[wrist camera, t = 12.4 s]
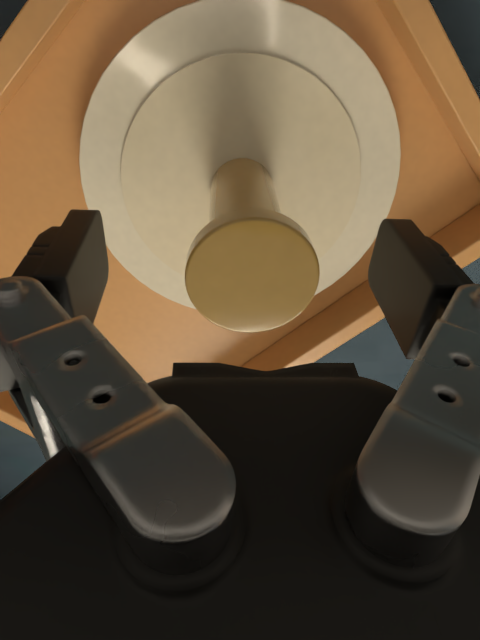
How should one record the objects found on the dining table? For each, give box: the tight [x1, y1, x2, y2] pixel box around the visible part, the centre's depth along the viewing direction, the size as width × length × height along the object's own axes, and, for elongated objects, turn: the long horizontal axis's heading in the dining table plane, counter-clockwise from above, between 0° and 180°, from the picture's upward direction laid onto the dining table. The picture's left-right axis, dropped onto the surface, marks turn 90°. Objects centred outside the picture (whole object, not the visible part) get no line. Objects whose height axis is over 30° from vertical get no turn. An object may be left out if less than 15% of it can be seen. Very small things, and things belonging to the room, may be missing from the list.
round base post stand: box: [79, 0, 401, 333], centre depth 15 cm, size 12×12×7 cm
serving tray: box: [0, 0, 480, 438], centre depth 19 cm, size 17×25×3 cm
